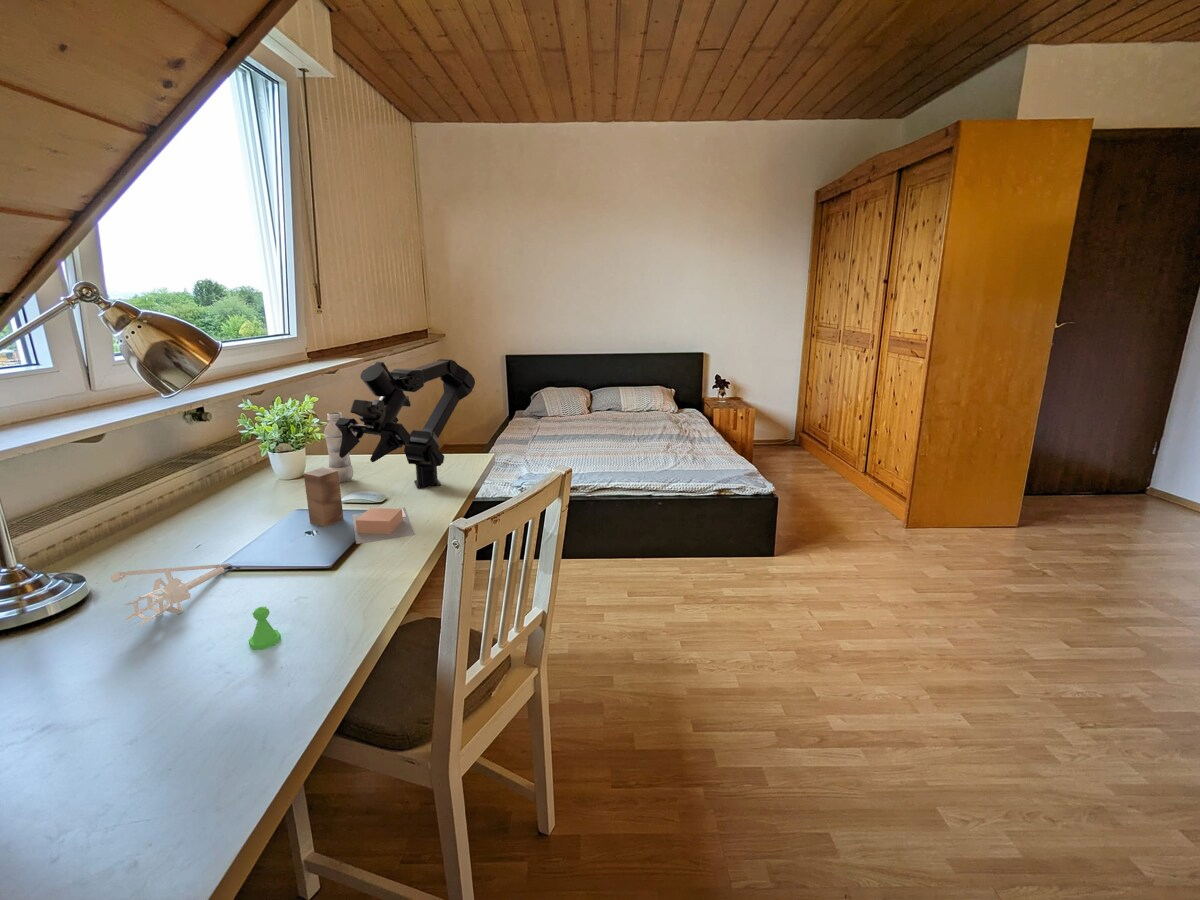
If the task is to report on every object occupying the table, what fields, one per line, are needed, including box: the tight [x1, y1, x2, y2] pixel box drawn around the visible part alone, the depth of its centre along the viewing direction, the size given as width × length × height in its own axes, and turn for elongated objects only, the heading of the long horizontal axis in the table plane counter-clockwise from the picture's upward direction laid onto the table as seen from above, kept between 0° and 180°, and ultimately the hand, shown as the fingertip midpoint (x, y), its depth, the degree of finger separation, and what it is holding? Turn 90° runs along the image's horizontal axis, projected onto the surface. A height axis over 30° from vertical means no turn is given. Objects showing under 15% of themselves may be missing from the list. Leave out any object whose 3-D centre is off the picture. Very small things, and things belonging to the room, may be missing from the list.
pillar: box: [303, 467, 344, 528], centre depth 128 cm, size 5×5×13 cm
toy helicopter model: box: [109, 563, 232, 628], centre depth 97 cm, size 6×9×25 cm
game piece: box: [248, 606, 282, 650], centre depth 85 cm, size 4×4×6 cm
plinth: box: [356, 507, 403, 534], centre depth 126 cm, size 8×8×3 cm
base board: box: [351, 507, 416, 545], centre depth 128 cm, size 18×12×1 cm, turn 26°
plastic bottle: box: [323, 411, 354, 483], centre depth 157 cm, size 6×7×20 cm
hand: (355, 459), depth 132 cm, fingers open, 9 cm apart
